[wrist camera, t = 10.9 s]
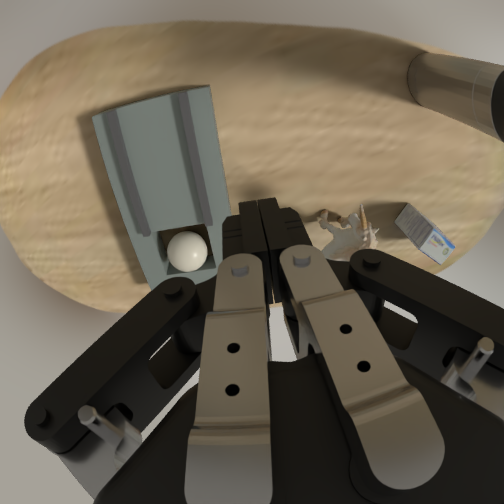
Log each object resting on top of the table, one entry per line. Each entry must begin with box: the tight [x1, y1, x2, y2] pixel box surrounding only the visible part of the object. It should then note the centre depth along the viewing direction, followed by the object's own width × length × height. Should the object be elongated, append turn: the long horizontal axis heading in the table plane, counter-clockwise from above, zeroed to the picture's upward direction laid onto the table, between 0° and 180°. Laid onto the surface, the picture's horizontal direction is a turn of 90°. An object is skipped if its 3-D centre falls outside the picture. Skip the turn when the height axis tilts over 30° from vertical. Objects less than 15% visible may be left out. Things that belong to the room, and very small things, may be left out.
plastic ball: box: [167, 231, 207, 272], centre depth 44 cm, size 6×6×6 cm
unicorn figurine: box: [319, 204, 379, 261], centre depth 42 cm, size 7×20×13 cm, turn 163°
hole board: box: [92, 85, 232, 291], centre depth 40 cm, size 15×30×4 cm, turn 7°
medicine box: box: [394, 203, 455, 265], centre depth 45 cm, size 8×4×9 cm, turn 61°
